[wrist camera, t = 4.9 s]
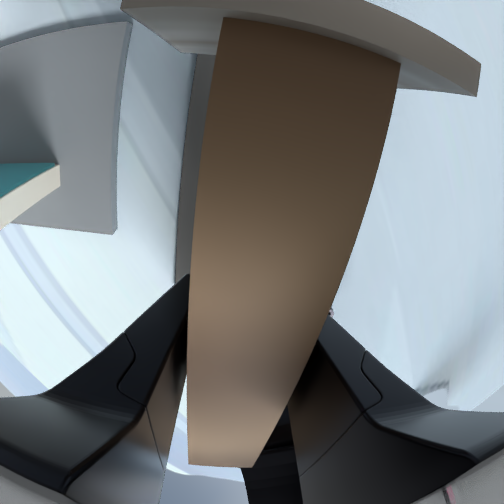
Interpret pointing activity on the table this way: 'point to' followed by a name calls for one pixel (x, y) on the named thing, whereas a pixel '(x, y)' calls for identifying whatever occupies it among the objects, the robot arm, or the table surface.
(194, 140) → the rest
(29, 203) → the tile
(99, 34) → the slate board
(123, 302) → the table surface
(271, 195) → the light brown wooden bar
